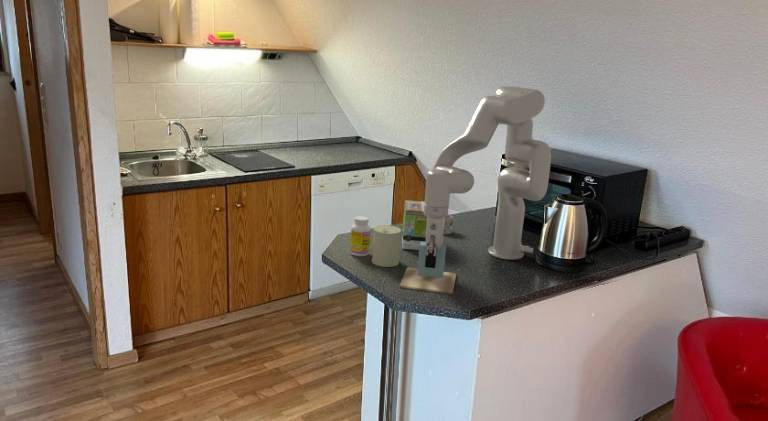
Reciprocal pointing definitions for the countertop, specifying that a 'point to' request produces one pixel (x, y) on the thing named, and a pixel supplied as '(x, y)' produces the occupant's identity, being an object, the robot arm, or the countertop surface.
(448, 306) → the countertop surface
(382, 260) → the can
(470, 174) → the robot arm
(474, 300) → the countertop surface
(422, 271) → the slab
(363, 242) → the supplement bottle
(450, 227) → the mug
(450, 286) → the mat
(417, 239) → the tea box
